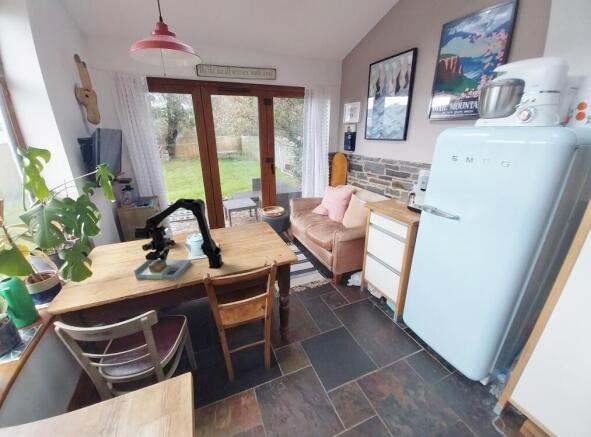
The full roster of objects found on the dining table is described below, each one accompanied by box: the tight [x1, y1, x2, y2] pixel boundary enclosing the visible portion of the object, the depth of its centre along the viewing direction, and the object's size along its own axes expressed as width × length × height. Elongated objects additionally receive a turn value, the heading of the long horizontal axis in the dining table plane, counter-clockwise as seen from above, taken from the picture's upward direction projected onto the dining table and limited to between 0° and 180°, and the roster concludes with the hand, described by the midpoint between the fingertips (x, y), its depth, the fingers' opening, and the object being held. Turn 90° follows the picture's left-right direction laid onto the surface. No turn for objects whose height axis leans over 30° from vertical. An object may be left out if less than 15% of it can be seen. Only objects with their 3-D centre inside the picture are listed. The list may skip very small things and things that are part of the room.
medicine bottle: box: [163, 227, 174, 248], centre depth 164 cm, size 7×7×12 cm
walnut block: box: [148, 260, 167, 272], centre depth 133 cm, size 6×6×4 cm
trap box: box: [133, 258, 192, 280], centre depth 136 cm, size 23×16×5 cm
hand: (164, 262), depth 138 cm, fingers closed
